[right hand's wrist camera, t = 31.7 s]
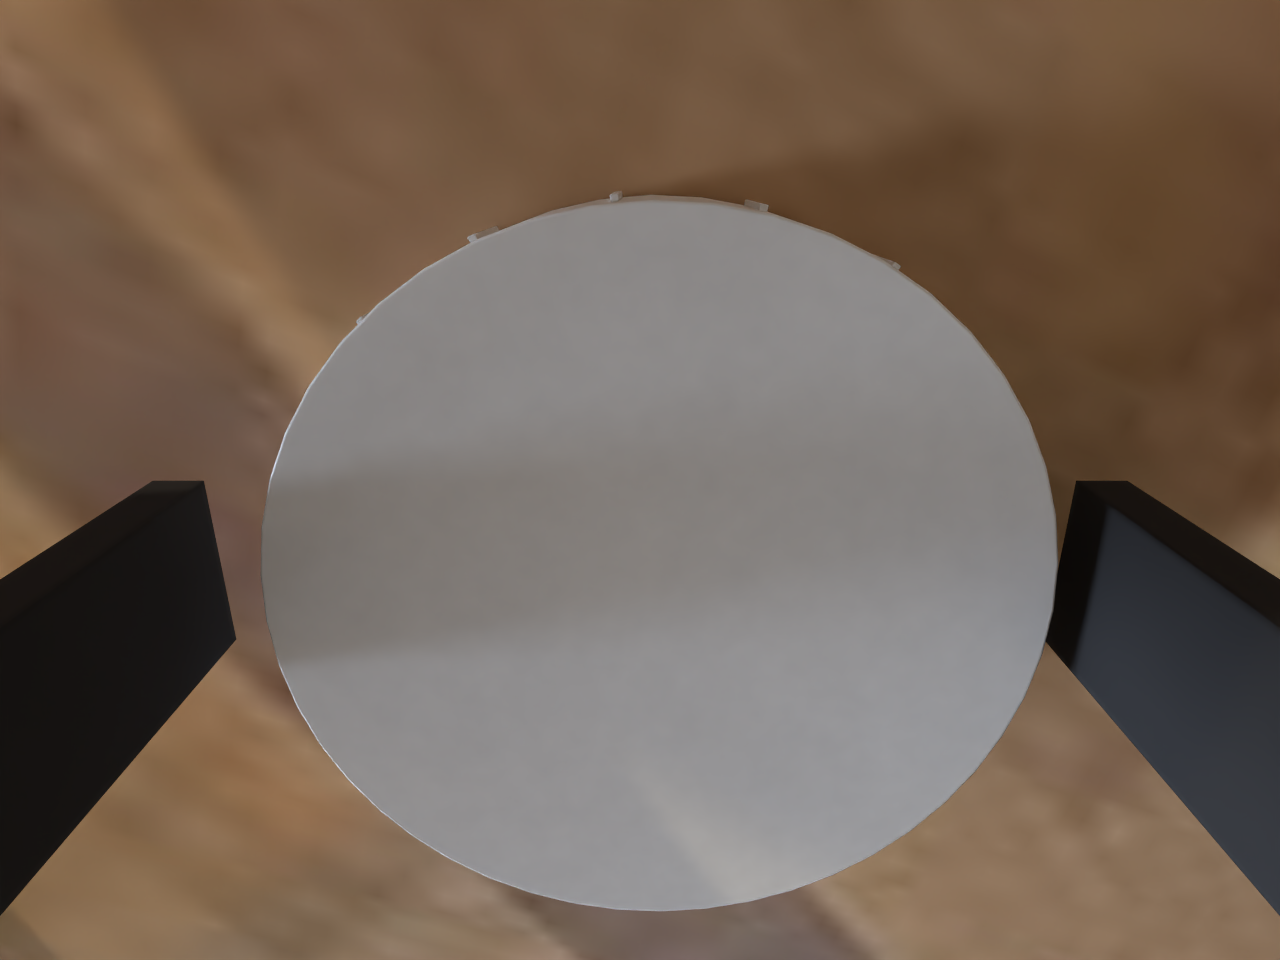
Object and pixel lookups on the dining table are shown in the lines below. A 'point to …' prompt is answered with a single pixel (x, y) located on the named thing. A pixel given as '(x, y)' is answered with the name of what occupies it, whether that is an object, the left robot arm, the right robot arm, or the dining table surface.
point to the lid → (659, 554)
